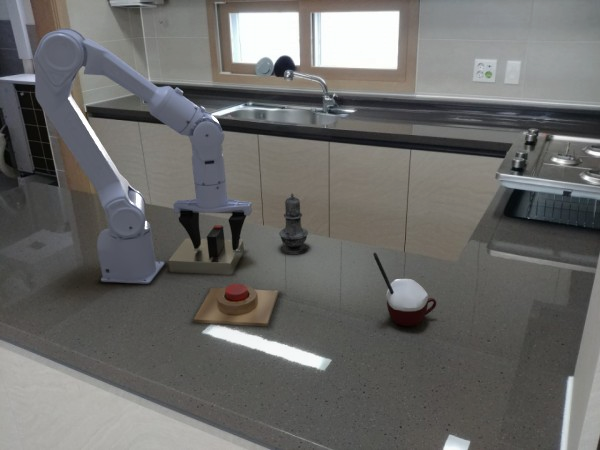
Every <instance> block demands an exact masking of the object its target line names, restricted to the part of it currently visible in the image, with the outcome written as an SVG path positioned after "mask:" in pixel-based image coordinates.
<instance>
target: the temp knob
mask: <svg viewBox="0 0 600 450" xmlns="http://www.w3.org/2000/svg"><path fill="white" fill-rule="evenodd" d="M224 231H225V230H224V226H223V225H219V224H218V225H217V224H215V225H214V226H213V227H212V229H211V230H210V231H209V233H208V234H207V236H206V239H207V244H208V253H209V256H218V255H219V253H220V252H221V250H222V248H223V247H224V245H225V241H224V240H225V232H224Z"/></svg>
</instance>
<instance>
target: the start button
mask: <svg viewBox="0 0 600 450" xmlns="http://www.w3.org/2000/svg"><path fill="white" fill-rule="evenodd" d="M247 286H248V285H247V284H244V283H232V284H229V285H228V286H226V287H227V288H226V287H225V288H226V289H225V292H226V299H227V300H228V301H230V302H239V301H243V300H245V299H247V298H248V289H247Z"/></svg>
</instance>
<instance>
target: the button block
mask: <svg viewBox="0 0 600 450" xmlns="http://www.w3.org/2000/svg"><path fill="white" fill-rule="evenodd" d="M246 286H247V289H248V298H247V299H245V300H243V301H239V302H230V301H228V300H227V299H226V292H225V289H226V288H227V287H228V286H226V287H225V288H224V287H211V288H210V290H209V291H208V293H207V295H206V296H205V299H204V300H203V301H202V304H201V305H200V307H199V309H198V310H197V312H196V314H195V315H194V317H193V323H194V324H195V323H196V324H209V325H232V326H247V327H265V328H268V327H269V324H270V321H271V317H272V315H273V312H274V309H275V306H276V303H277V300H278V297H279V295H280V294H279V292H280V291H279V290H268V289H255V288H254V287H251V286H250V285H246Z"/></svg>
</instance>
